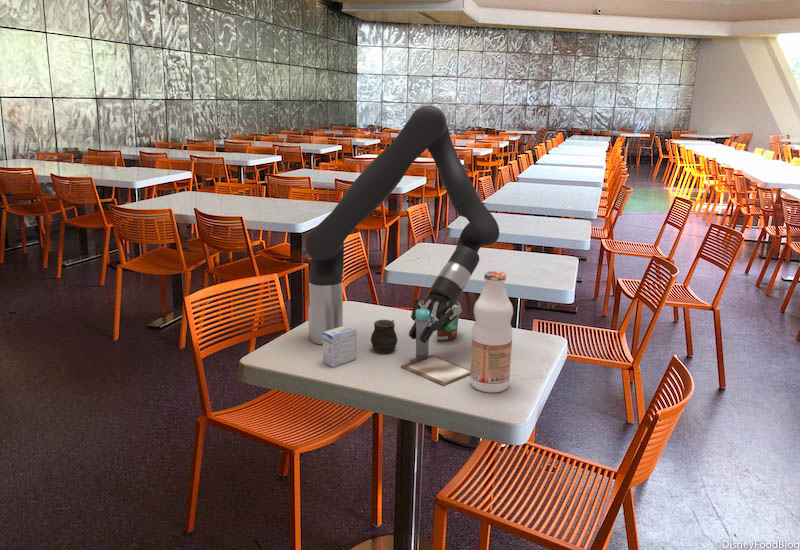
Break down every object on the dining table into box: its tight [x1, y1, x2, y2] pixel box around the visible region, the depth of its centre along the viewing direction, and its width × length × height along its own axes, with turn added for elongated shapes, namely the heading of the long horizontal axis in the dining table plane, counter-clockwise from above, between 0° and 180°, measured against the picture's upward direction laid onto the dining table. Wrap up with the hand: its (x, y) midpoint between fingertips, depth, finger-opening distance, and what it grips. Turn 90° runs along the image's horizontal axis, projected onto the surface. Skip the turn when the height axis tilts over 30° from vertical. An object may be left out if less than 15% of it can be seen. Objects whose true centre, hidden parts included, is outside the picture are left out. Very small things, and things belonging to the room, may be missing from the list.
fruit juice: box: [469, 270, 514, 394], centre depth 151 cm, size 9×9×28 cm
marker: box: [415, 309, 430, 360], centre depth 161 cm, size 3×3×12 cm
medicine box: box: [322, 325, 357, 368], centre depth 166 cm, size 8×4×9 cm, turn 135°
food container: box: [436, 300, 462, 343], centre depth 184 cm, size 12×6×10 cm, turn 168°
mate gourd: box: [370, 319, 398, 354], centre depth 174 cm, size 7×8×10 cm
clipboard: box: [400, 354, 471, 387], centre depth 162 cm, size 15×12×1 cm
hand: (416, 339), depth 160 cm, fingers closed on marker, 3 cm apart
